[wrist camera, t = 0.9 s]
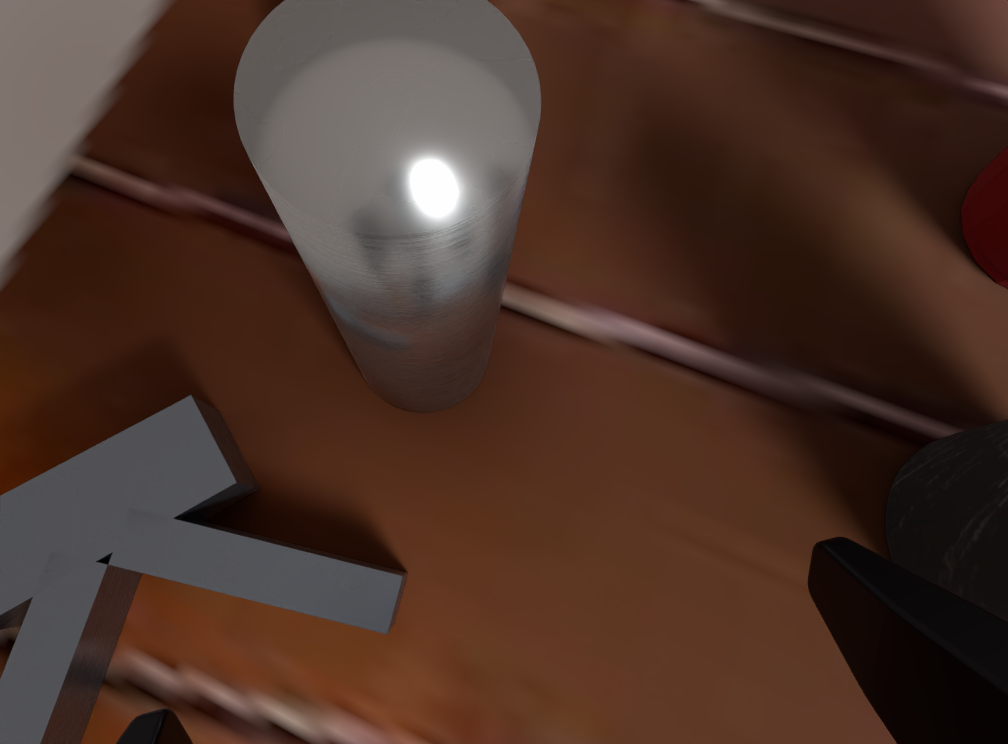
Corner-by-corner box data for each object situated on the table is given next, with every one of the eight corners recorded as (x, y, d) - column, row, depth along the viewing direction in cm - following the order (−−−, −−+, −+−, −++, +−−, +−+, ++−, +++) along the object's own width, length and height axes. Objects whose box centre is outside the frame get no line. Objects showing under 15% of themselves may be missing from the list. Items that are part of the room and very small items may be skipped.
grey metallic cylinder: (447, 437, 23) (443, 289, 10) (330, 370, 24) (169, 135, 10) (513, 325, 24) (592, 55, 11) (401, 263, 25) (343, -79, 11)
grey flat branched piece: (425, 604, 22) (422, 611, 20) (3, 870, 19) (-61, 917, 17) (294, 369, 23) (276, 349, 21) (-113, 588, 21) (-187, 594, 18)
